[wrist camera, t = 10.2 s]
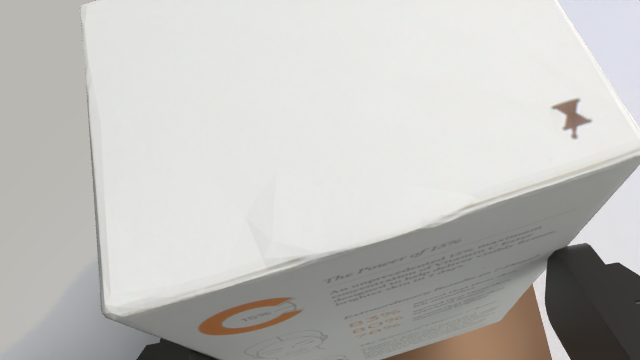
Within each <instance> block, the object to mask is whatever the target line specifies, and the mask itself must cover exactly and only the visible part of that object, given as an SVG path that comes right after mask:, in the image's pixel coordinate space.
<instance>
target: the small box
mask: <svg viewBox="0 0 640 360" xmlns="http://www.w3.org/2000/svg"><path fill="white" fill-rule="evenodd" d="M80 19H81V27H82V28H81V29H82V42H83V53H84V63H85V74H86V89H87V103H88V117H89V131H90V145H91V160H92V174H93V188H94V189H93V190H94V203H95V219H96V234H97V249H98V265H99V280H100V299H101V311H102V314H103V315H104V316H105V317H106V318H108V319H111V320H114V321H116V322H119V323H122V324H124V325H127V326H130V327H132V328H135V329H138V330H141V331H143V332H146V333H149V334H152V335H155V336H157V337H160V338H163V339H166V340H169V341H172V342H174V343H177V344H179V345H182V346H184V347H187V348H190V349H192V350H195V351H197V352H200V353H203V354H205V355H208V356H211V357H213V358H216V359H219V360H381V359H385V358H388V357H391V356H394V355H397V354H400V353H404V352H407V351H410V350H413V349H416V348H419V347H423V346H426V345H429V344H432V343H435V342H439V341H442V340H445V339H448V338H451V337H454V336H457V335H461V334H464V333H467V332H470V331H473V330H476V329H479V328H482V327H485V326H487V325H490V324H493V323H496V322H499V321H501V320H502V318H503V317H504V316H505V315H506V314H507V312H508V311H509V310H510V309H511V308H512V307H513V306H514V304H515V303H516V302H517V301H518V299H519V298H520V297H521V296H522V295H523V294H524V292H525V291H526V290H527V289H528V288H529V287H530V286H531V285H532V284H533V282H534V281H535V280H536V279H537V278H538V277H539V276H540V275H541V274H542V273H543V272H544V271H545V270H546V269H547V259H548V258H549V256H550V255H551V254H552V253H553V252H554V251H555V250H558V249H561V248H564V247H566V246H567V245H568V244H569V243H570V242H571V241H572V240H573V239H574V238H575V236H576V235H577V234H578V233H579V232H580V231H581V230H582V228H583V227H584V226H585V225H586V224H587V223H588V222H589V221H590V220H591V218H592V217H593V216H594V215H595V214H596V213H597V212H598V211H599V210H600V208H601V207H602V206H603V205H604V204H605V203H606V202H607V201H608V199H609V198H610V197H611V196H612V195H613V194H614V193H615V191H616V190H617V189H618V188H619V187H620V186H621V185H622V184H623V183H624V182H625V181H626V180H627V178H628V177H629V176H630V175H631V174H632V173H633V172H634V170H635V169H636V168H637V167H638V166H639V165H640V128H639V126H638V125H637V124H636V122H635V121H634V119H633V118H632V116H631V115H630V113H629V112H628V110H627V109H626V107H625V106H624V104H623V103H622V102H621V100H620V98H619V97H618V95H617V93H616V92H615V90H614V89H613V87H612V85H611V84H610V82H609V80H608V79H607V77H606V76H605V74H604V72H603V71H602V69H601V68H600V66H599V65H598V63H597V62H596V60H595V58H594V57H593V55H592V54H591V52H590V51H589V49H588V47H587V46H586V44H585V43H584V41H583V40H582V38H581V37H580V35H579V34H578V32H577V31H576V29H575V28H574V26H573V25H572V23H571V21H570V20H569V18H568V17H567V15H566V14H565V12H564V11H563V9H562V8H561V6H560V5H559V3H558V2H557V0H95V1H92V2H88V3H85V4H82V6H81V7H80Z"/></svg>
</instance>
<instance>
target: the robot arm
mask: <svg viewBox="0 0 640 360" xmlns="http://www.w3.org/2000/svg"><path fill="white" fill-rule="evenodd" d="M545 306H546V311H547V315H548V318H549V321H550V323H551V325H552V327H553V329H554V331H555V333H556V334H557V336H558V338H559V340H560V341H561V343H562V345H563V347H564V349H565V350H566V352H567V354H568V356H569V357H570V359H571V360H640V276H639V275H638V274H636V273H634V272H633V271H631V270H630V269H628V268H626V267H625V266H623V265H622V264H620V263H612V264H606V265H605V263H604V262H603V261H602V260H601V258H600V257H599V256H598V255H597V253H596V252H595V251H594V249H593V248H592V247H591V246H590V245H589V244H587V243H583V244H577V245H572V246H566V247H564V248H561V249H558V250H555V251H554V252H553V253H552V254H551V255H550V256H549V258H548V259H547V273H546V289H545ZM137 360H219V359H216V358H213V357H211V356H208V355H205V354H203V353H200V352H197V351H195V350H192V349H190V348H187V347H184V346H182V345H179V344H177V343H174V342H172V341H169V340H166V339H163V338H161V340H160V343H156V344H151V345H147V346H146V347H145V348H144V350H143V351H142V353H141V354H140V356H139V357H138V359H137Z"/></svg>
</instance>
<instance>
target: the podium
mask: <svg viewBox="0 0 640 360" xmlns="http://www.w3.org/2000/svg"><path fill="white" fill-rule="evenodd" d="M381 360H552V358H551V354H550V350H549V346H548V342H547V338H546V334H545V331H544V327H543V323H542V319H541V315H540V311H539V307H538V304H537V300H536V296H535V292H534V288H533V284H532V285H531V286H530V287H529V288H528V289H527V290H526V291H525V292H524V294H523V295H522V296H521V297H520V298H519V299H518V301H517V302H516V303H515V304H514V306H513V307H512V308H511V309H510V310H509V311H508V312H507V314H506V315H505V316H504V317H503V318H502V320H501V321H499V322H496V323H493V324H490V325H487V326H485V327H482V328H479V329H476V330H473V331H470V332H467V333H464V334H461V335H457V336H454V337H451V338H448V339H445V340H442V341H439V342H435V343H432V344H429V345H426V346H423V347H419V348H416V349H413V350H410V351H407V352H404V353H400V354H397V355H394V356H391V357H388V358H385V359H381Z"/></svg>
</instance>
